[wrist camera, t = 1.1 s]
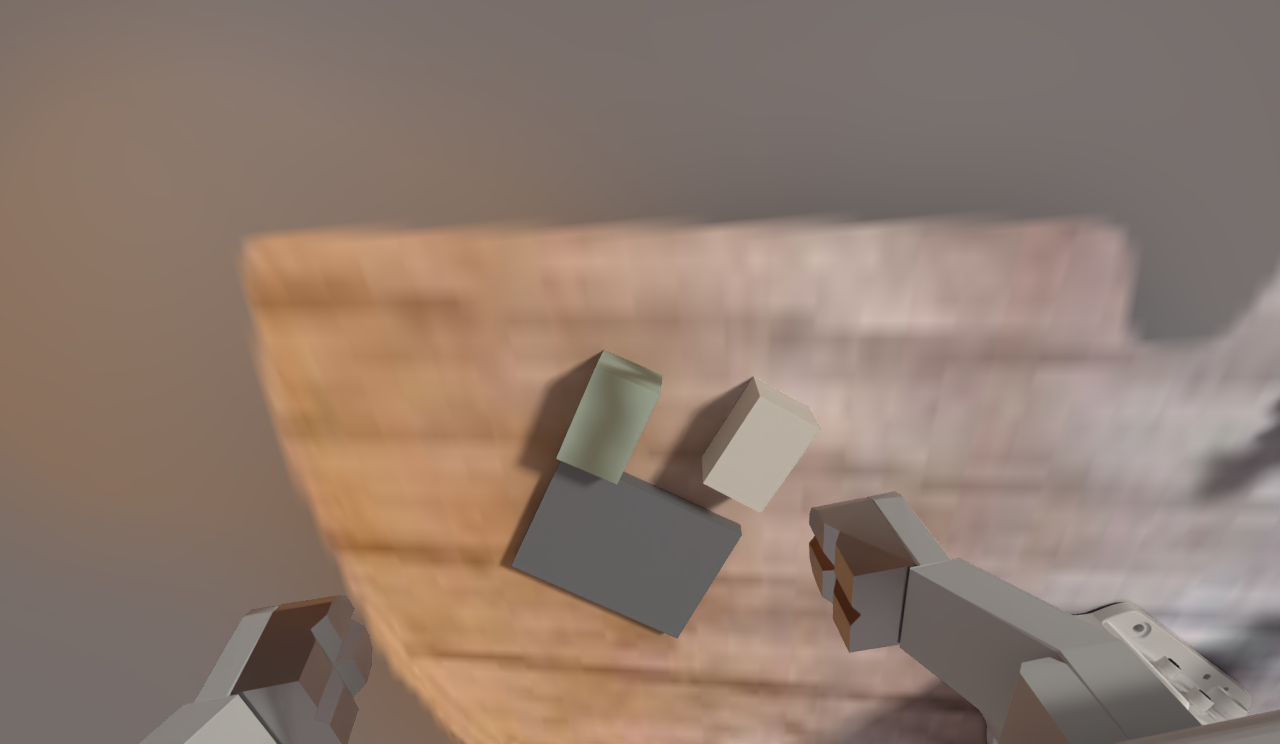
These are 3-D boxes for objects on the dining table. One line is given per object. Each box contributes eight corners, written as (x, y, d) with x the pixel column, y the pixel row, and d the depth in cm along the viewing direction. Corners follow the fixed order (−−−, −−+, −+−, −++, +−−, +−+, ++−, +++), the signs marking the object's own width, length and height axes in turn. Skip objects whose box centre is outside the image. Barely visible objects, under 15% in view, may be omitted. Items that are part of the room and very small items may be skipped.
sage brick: (662, 374, 46) (660, 394, 42) (623, 457, 49) (617, 484, 45) (604, 349, 46) (595, 366, 42) (567, 434, 48) (556, 458, 44)
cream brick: (808, 405, 46) (820, 428, 42) (754, 483, 49) (760, 513, 44) (753, 375, 46) (760, 396, 41) (701, 456, 48) (702, 483, 44)
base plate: (740, 524, 50) (741, 535, 48) (677, 626, 53) (677, 638, 52) (567, 446, 49) (563, 454, 47) (515, 555, 52) (511, 566, 51)
